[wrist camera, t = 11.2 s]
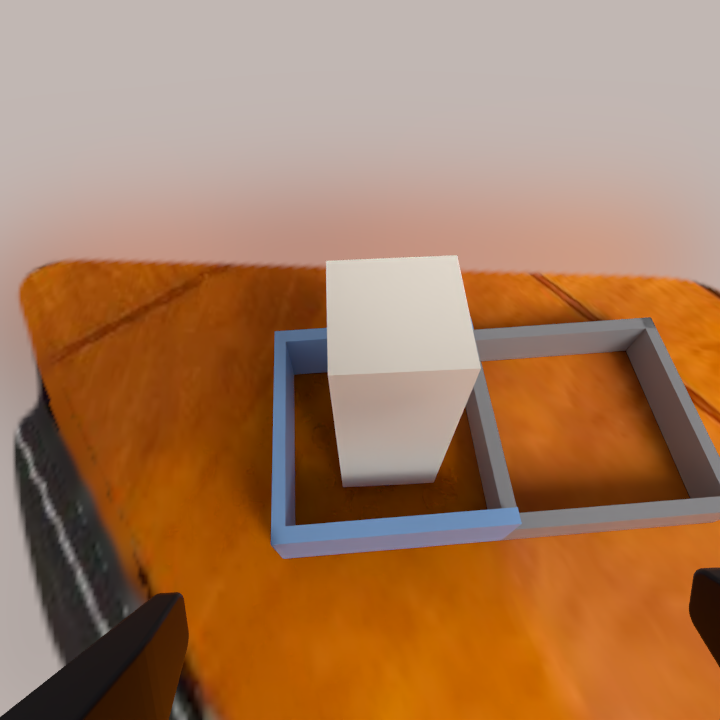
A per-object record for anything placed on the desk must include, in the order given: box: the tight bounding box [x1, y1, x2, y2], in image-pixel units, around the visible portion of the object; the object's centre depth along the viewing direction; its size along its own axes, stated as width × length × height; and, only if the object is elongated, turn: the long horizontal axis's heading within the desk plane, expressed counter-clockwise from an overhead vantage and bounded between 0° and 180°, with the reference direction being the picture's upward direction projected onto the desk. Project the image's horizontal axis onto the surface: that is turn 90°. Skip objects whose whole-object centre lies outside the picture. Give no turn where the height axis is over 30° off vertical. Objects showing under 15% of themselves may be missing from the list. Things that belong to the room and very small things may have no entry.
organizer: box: [271, 317, 720, 559], centre depth 21 cm, size 18×9×3 cm, turn 95°
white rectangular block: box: [326, 255, 481, 487], centre depth 18 cm, size 4×4×10 cm
